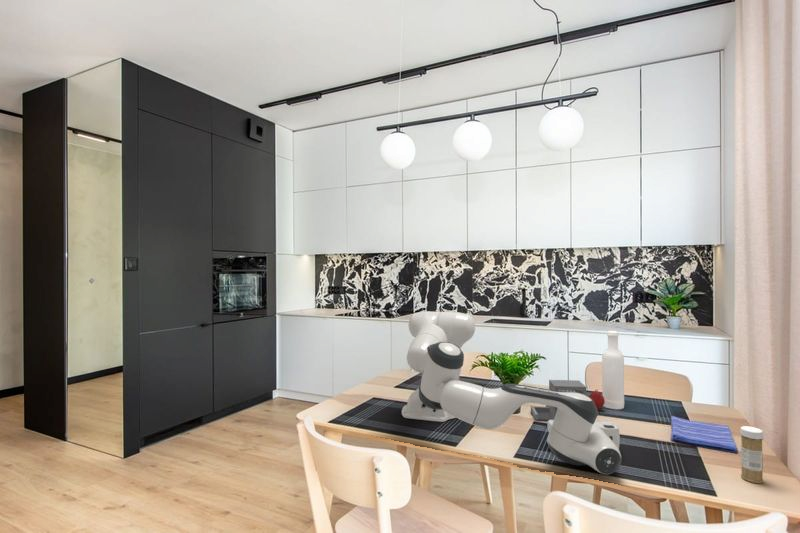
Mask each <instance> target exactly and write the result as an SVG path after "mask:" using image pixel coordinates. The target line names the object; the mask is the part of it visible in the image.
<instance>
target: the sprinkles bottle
mask: <svg viewBox="0 0 800 533" xmlns="http://www.w3.org/2000/svg"><path fill="white" fill-rule="evenodd" d="M739 433H740V436H741V446H740V447H741V448H740V450H741V451H740V453H741V454H740V456H741V458H740V460H741V461H740V464H741V474H740V476H741V478H742V480H744V481H746V482H749V483H753V484H762V483H763V482H764V479H763V477H764V476H763V475H764V474H763V469H764V460H763V459H764V458H763V439H764V432H763V430H762V429H760V428H758V427H754V426H747V425H746V426H745V425H744V426H741V427H740V432H739Z"/></svg>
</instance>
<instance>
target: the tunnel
mask: <svg viewBox="0 0 800 533" xmlns="http://www.w3.org/2000/svg"><path fill="white" fill-rule="evenodd" d="M548 387H549V388H548V389H549V390H555V391H575V393H580V394H583V395H585V396H587V386H586V385H585V384H583V383H582V382H581V381H580V380H571V379H570V380H564V379H548ZM548 407H549V420H554V418H555V415H556V412H557V407H553V406H548Z"/></svg>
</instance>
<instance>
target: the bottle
mask: <svg viewBox="0 0 800 533" xmlns="http://www.w3.org/2000/svg"><path fill="white" fill-rule="evenodd" d="M606 335H607V348H606V350H604V351H603V354H602V356H601V359H602V360H601V361H602V362H601V363H602V364H601V368H602V369H601V377H602V378H601V383H602V384H601V386H602V388H601V389H602V391H601V392H602V393H601V394H602V395H603V397H604V399H605V403H604V405H603V407H604V408H607V409H609V410H622V409H624V408H625V365H624V364H625V358H624V354H623V353H622V352H621V350H619V332H618V331H617V330H608V331H607V334H606Z"/></svg>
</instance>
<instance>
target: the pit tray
mask: <svg viewBox="0 0 800 533" xmlns="http://www.w3.org/2000/svg"><path fill="white" fill-rule="evenodd" d="M530 414H531V415H532V418H533V419H534V421H535V422H548V421H549V406H543V405H542V406H536V405H531V406H530Z"/></svg>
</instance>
